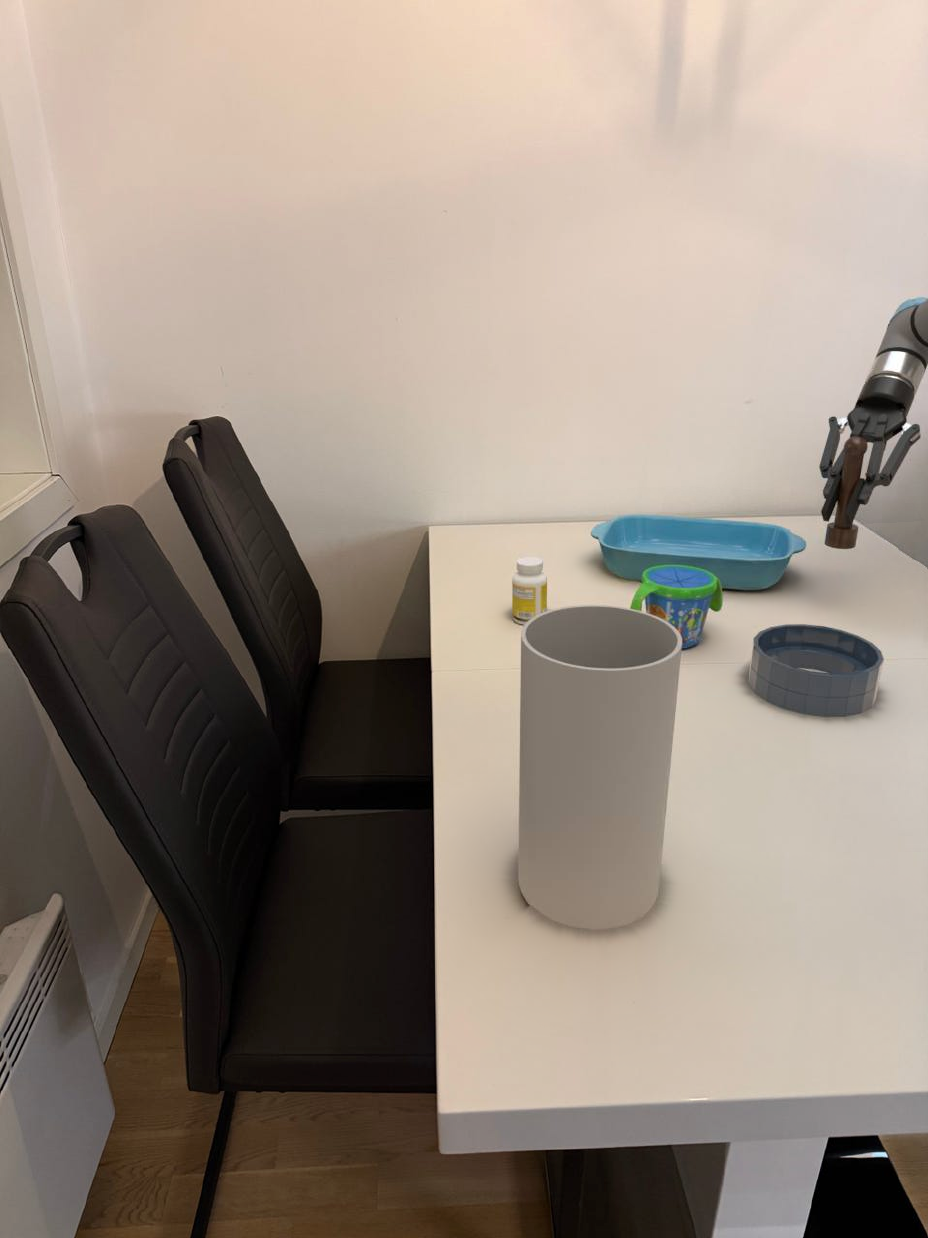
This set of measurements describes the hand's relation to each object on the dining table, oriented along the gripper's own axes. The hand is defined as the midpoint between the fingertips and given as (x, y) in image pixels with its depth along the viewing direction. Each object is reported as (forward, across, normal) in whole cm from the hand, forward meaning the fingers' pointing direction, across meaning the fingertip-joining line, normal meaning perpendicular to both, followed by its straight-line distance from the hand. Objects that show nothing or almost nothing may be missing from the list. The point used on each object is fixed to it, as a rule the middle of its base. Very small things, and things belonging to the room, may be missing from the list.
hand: (836, 517), depth 124 cm
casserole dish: (+6, +26, -17) cm, 31 cm away
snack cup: (+27, +14, +3) cm, 30 cm away
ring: (+29, -7, +6) cm, 31 cm away
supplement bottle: (+31, +36, +8) cm, 48 cm away
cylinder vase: (+64, -5, +41) cm, 76 cm away
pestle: (+1, 0, -6) cm, 6 cm away
